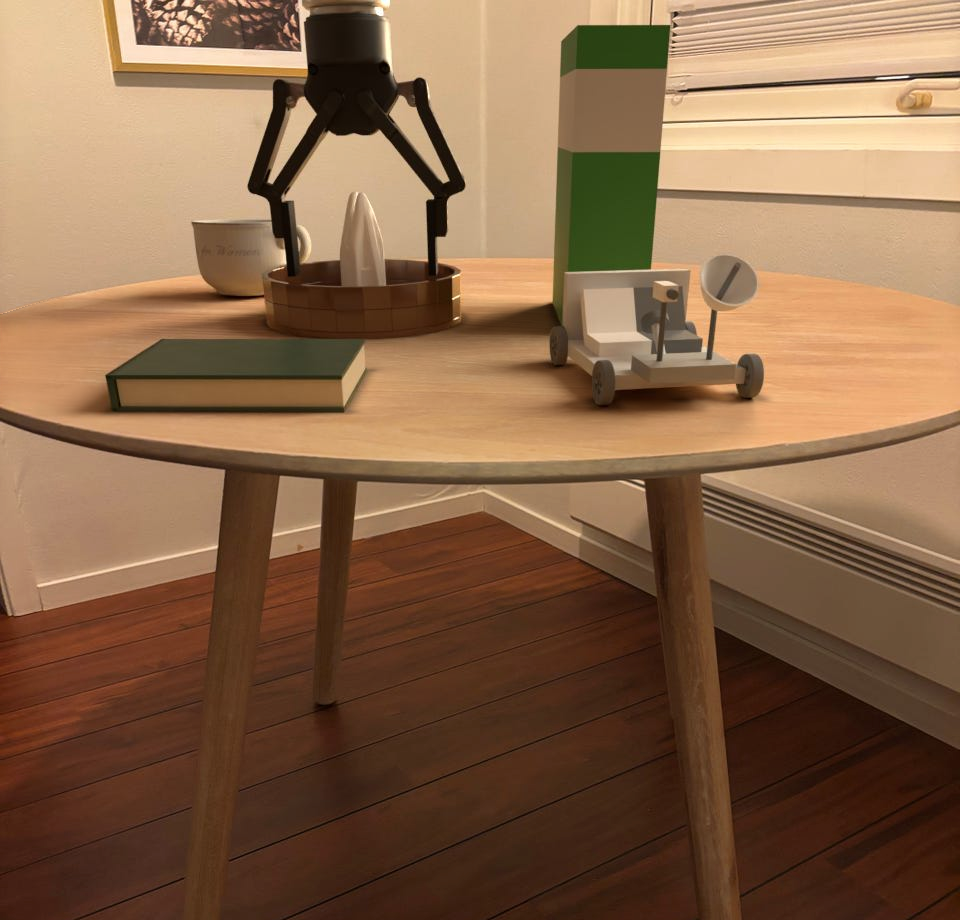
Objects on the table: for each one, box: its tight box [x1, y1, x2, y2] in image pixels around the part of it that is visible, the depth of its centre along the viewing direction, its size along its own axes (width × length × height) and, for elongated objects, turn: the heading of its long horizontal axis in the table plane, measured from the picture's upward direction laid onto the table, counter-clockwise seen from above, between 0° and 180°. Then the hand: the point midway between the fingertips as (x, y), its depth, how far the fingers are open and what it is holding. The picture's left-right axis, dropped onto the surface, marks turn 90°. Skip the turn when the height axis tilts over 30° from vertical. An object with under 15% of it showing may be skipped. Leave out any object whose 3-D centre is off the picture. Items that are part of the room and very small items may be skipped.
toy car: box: [548, 252, 765, 406], centre depth 68 cm, size 18×10×12 cm
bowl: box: [262, 258, 463, 340], centre depth 93 cm, size 19×19×4 cm
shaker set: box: [339, 191, 386, 286], centre depth 91 cm, size 12×4×11 cm, turn 9°
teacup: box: [190, 218, 312, 297], centre depth 106 cm, size 14×11×8 cm
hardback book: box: [552, 24, 672, 326], centre depth 89 cm, size 18×7×24 cm, turn 0°
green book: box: [104, 338, 368, 413], centre depth 69 cm, size 16×12×2 cm
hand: (363, 274), depth 92 cm, fingers open, 13 cm apart
